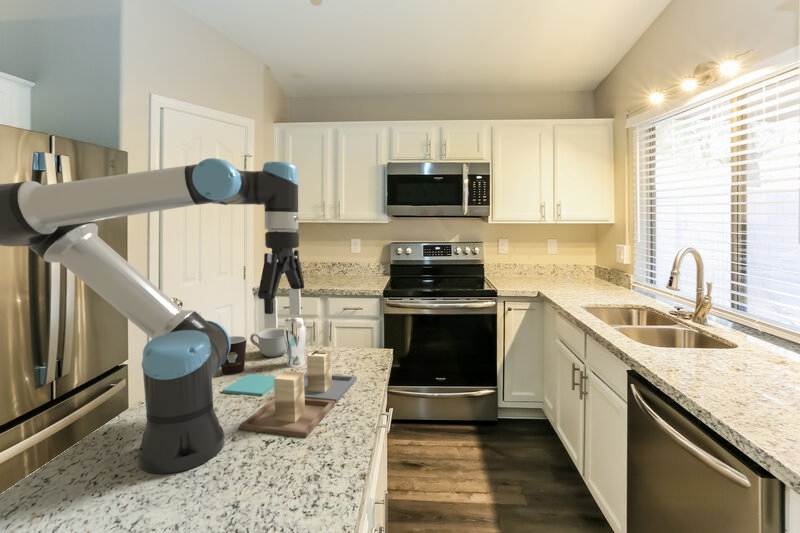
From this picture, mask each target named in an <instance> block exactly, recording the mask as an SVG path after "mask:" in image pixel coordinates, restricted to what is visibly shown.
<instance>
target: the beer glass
mask: <svg viewBox="0 0 800 533" xmlns="http://www.w3.org/2000/svg"><path fill="white" fill-rule="evenodd" d="M283 321H284V322H283V323H284V325H283V326H284V327H283V329H284V337H285V343H286V348H287V351H286V352H287V357H286V358H287V360H286V366H287V367H289V368H297V367H302V366H305V365H307V361H306V359H305V358H306V357H305V348H306V347H305V346H306V341H307V325H306V324H307V323H306V318H305V317H296V316H295V317H287V318H286V319H284V320H283Z"/></svg>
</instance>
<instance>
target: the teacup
mask: <svg viewBox="0 0 800 533" xmlns="http://www.w3.org/2000/svg"><path fill="white" fill-rule="evenodd" d="M254 337H256V338H257V340H258V341H255V339H254ZM249 339H250V342H251V344H253V345H254V347H255V346H256V347H257V348H258V349H259V352H260V353H261V354H262V355H264V356H265V357H269V358H276V357H280V356H282V355H284V354H285V353H286V352H287V348H286V343H285V337H284V328H268V329H266V330H262V331H260V332H259V333H258V332H253V333H252V334H251V335H250V337H249Z"/></svg>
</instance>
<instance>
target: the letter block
mask: <svg viewBox="0 0 800 533" xmlns="http://www.w3.org/2000/svg"><path fill="white" fill-rule="evenodd" d="M332 366H333V365H332V350H322V349H321V350H320V349H313V351H311V352H309V353H308V354H307V355H306V367H307V368H306V372H307V378H308V391H314V392H326V391H327V390H328V389H329V388H330V387H331V386H332V372H333V371H332V368H333V367H332Z"/></svg>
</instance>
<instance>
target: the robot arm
mask: <svg viewBox="0 0 800 533" xmlns="http://www.w3.org/2000/svg"><path fill="white" fill-rule="evenodd" d="M298 181H299V179H298V168H297V166H296V165H295V164H293V163H291V162H286V161H267V162H265V163H264V164H263V168H262V170H259V171H258V170H257V171H254V170H253V171H252V170H240V169H237V168H236V166H234V165H233V164H232V163H231V162H229V161H227V160H225V159H220V158H215V157H213V158H211V157H210V158H205V159H203V160H202V161H199V163H196V164H189V165H181V166H175V167H167V168H160V169H153V170H152V169H151V170H145V171H138V172H137V171H136V172H132V173H131V172H130V173H124V174H123V173H122V174H117V175H110V176H108V175H107V176H101V177H93V178H86V179H81V180H79V179H78V180H72V181H63V182H57V183H48V184H44V185H43V184H41V183H40V182H38V181H34V180H33V181H32V180H26V181H20V182H10V183H0V246H1V247H2V246H3V247H28V248H29V249H30V250H31V251H33V252H34V253H35V254H36V255H37V256H39V257H40V258H41V259H43V261H45V262H46V263H60V264H61V265H62V266H64V267H65V268H66V269H68V270H69V271H70V272H71V274H73V275H75V277H76V278H78V279H79V280H81V281H82V282H83V283H84V284H85V285H87V286H88V287H89V288H90V289H91V290H93V291H94V292H95V293H96V294H98V295H99V296H100V297H101V298H102V299H104V300H105V301H106V302H107V303H109V305H111V307H112V308H114V309H116V310H117V311H118V312H119V313H120V314H122V315H123V316H124V317H126V318H125V319H128V320H129V321H130V322H131V323H133V324H134V325H135V326H136V327H137V328H138V329H140V330H141V331H142V332H143V333H144V334H145V335H147V336H148V337H149V338H150V339H151V340H149V341H148V342H147V343H146V344H145V346H144V347H143V350H142V360H141V369H142V372H143V373H142V374H143V385H144V386H143V388H144V400H145V410H146V411H145V412H146V424H145V427H144V431H143V435H142V439H141V444H140V445H139V447H138V453H137V456H138V457H137V458H138V465H139V467H140V469H142V471H144V472H148V473H149V474H160V475H161V474H162V475H163V474H173V473H179V472H183V471H188V470H189V469H193V468H196V467H199V466H201V465H202V464H205V463H206V462H208V461H211V459H213V458H214V457H216V456H218V455H219V453H221V451H222V450H223V448H224V446H225V432H224V429H223V427H222V426H221V425H220V421H219V419H218V417H217V413H216V411H215V409H214V394H213V377H214V376H215V375H216V373H217V372H218V370H219V369H220V368H221V366H222V365H223V364H224V363H225V361H226V359H227V357H228V354H229V351H230V337H231V336H230V335H229V333H228V331H227V330H226V329H225V327H224V326H222V325H221V324H219V322H215V321H213V320H206V319H205V318H204V317H203V316H201V315H200V314H199V313H198V312H197V311H195V310H191V309H189V310H187V309H183V308H181V307H180V306H179V305H178V304H177V303H176V302H175V301H173V300H172V299H171V298H170V297H169V296H168V295H167V294H165V293H164V292H163V291H162V290H161V289H159V287H157V286H156V285H155V284H153V282H151V281H150V280H149V279H148V278H147V277H145V276H144V275H143V274H142V273H141V272H140V271H139V270H138V269H136V268H135V267H134V266H133V265H132V264H130V262H128V261H127V260H126V259H125V258H123V256H122V255H120V254H119V253H118V252H117V251H116V250H114V249H113V248H112V247H111V246H110V245H109V244H107V243H106V242H105V241H104V240H103V239H102V238H101V237H99V236H98V234H99V233H98V232H99V226H98V225H97V224H96V223H95V222H96V221H103V220H109V219H110V220H111V219H116V218H121V217H129V216H134V215H142V214H146V213H154V212H159V211H165V210H172V209H179V208H184V207H192V206H199V205H208V204H214V205H224V206H228V205H258V206H260V205H263V207H264V229H265V230H267V231H266V232H265V233H264V240H265V242H264V243H265V244H264V245H265V247H266V248H267V249H271V252H267V253H266V252H265V253H264V257H263V258H264V260H263V267H262V273H261V278H260V282H259V288H258V292H257V297H258V299H259V300H263V311H264V312H263V316H264V328H265V329H279V327H278V326H279V325H278V324H279V319H278V318H279V317H278V316H279V315H278V298H276V295H277V292H278V289H279V286H280V283H281V279H282V276H283V274H284V275H285V277H286V279H287V282H288V284H289V287H290V288H289V289H288V295H289V296H288V299H289V301H288V303H289V304H288V305H289V308H288V309H289V316H290V315H291V316H292V315H294V316H301V314H302V309H301V308H302V303H301V302H302V299H301V297H302V296H301V294H302V293H301V289H302V290H304V289H305V280H304V275H303V271H302V267H301V262H300V261H301V260H300V254H299V250H298V249H297V248H299V246H300V234H299V232H298V231H297V230H298V229H299V221H300V220H301V218H300V216H299V182H298ZM294 249H295V250H294ZM296 249H297V250H296Z"/></svg>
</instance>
